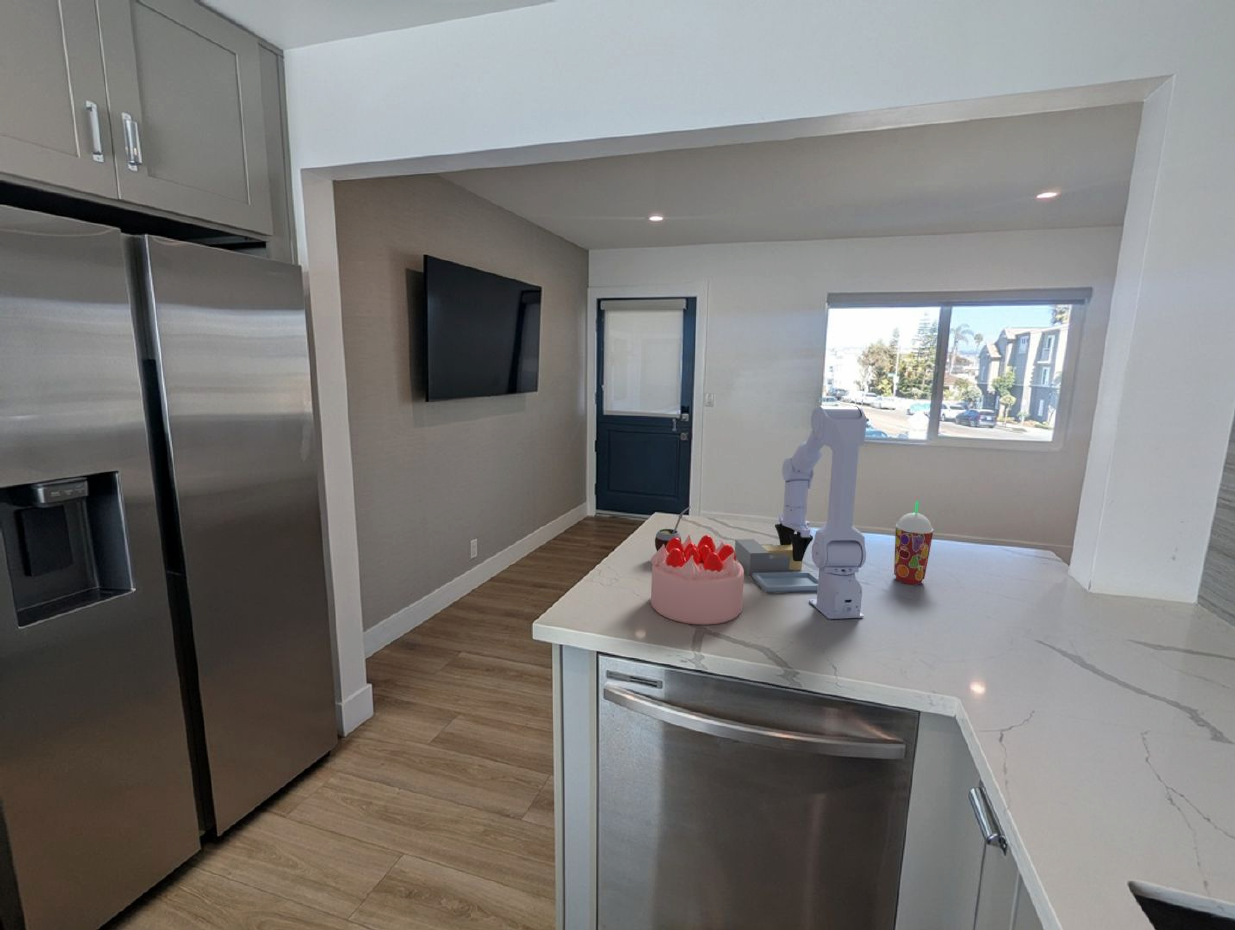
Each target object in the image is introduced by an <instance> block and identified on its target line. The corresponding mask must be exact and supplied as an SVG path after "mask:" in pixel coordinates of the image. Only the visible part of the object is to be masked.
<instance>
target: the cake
mask: <svg viewBox="0 0 1235 930" xmlns="http://www.w3.org/2000/svg"><path fill="white" fill-rule="evenodd" d="M719 541H720V542H721V543H720V544H719V546H718V547H717V548H716V544H715V542H714V539H713V538H712V537H711V536H710V535H708V534H705V535H702V536H701V538H700V539H699V541H698V543H697V545H696V544H695V543H694V542H693V540H692V539H691V535H690V534H688V535H687V537H686V539H685V540H684V542H683V543H682V540H681V541H680V540H679V539H678V538H676V537H673V538H671V539H670V540H669V542H668V544H667V545H666V548H665V546H664V544H663V546H662V547H661V548H660V549H659V550H658V551H657V550H656V552H655V553H654V555H652V557H650V559H649V560H650V563H651V564H652V565H651V593H650V594H651V596H650V602H651V606H652V608H653V609H654V610H655V612H656V613H658V614H659V615H660V616H662V617H664V618H666V619H669V620H672V621H675V622H678V623H683V624H688V625H700V626H702V625H703V626H704V625H705V626H712V625H718V624H724V623H728V622H729V621H733V620H734V619H736V618H738V616H739V615H740V614H741V612H742V611H743V598H744V584H745V583H744V581H745V580H744V577H745V572H744V569H743V567H742V565H741V564H740V563H739V562H738V560H737V557H736V554H735V548H734V547H733V546H732V545H730V544H726V543H725V542H723V540H721V539H720V540H719Z"/></svg>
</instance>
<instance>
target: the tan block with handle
mask: <svg viewBox="0 0 1235 930" xmlns="http://www.w3.org/2000/svg"><path fill="white" fill-rule="evenodd" d="M762 547H764V548H765V549H766V550H767V551H768V552H770V555H771V554H786V555H787V556H788V557H790V568H789V571H798V570H799V571H802V570H803V569H802V568H803V560H802V561H794V560H793V549H792V544H791V545H780V544H779V545H777V544H773V545H767V546H762ZM805 554H806V553H805ZM805 554H804V556H805Z"/></svg>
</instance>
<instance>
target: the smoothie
mask: <svg viewBox="0 0 1235 930" xmlns="http://www.w3.org/2000/svg"><path fill="white" fill-rule="evenodd" d="M919 503H920V502H919V501H915V506H914V511H913V512H908V513H905V514H904V515H902V516H901V517H900V518H899V520H898V521H897V522H896V524H895V530H894V531H895V533H894V534H895V535H894V536H895V537H894V538H895V539H894V567H893V568H894V569H893V574H894V576H895V579H896V581H898V582H899V583H903V584H906V585H911V586H912V585H913V586H915V585H919V584H922V582H923V580H924V579H926V578H925V577H926V572H927V568H928V563H929V562H928V561H929V557H930V553H931V546H932V541H933V536H934V534H933V533H934V528H933V525H932V523H931V521H930V520H929V518H928V517H926V515H923V514H922V513H919V511H918V510H919Z"/></svg>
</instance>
